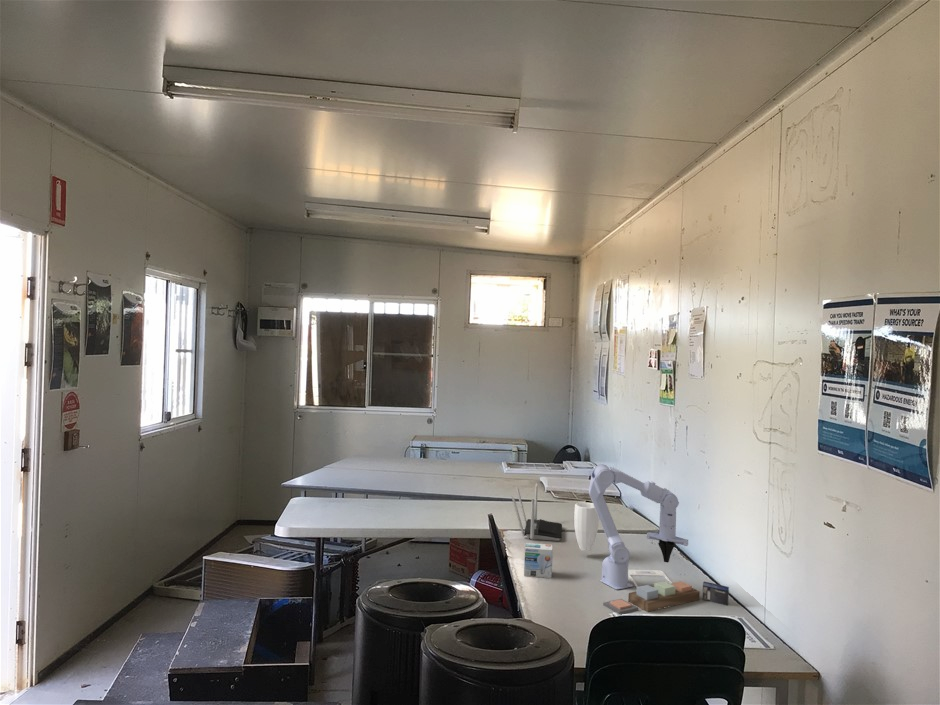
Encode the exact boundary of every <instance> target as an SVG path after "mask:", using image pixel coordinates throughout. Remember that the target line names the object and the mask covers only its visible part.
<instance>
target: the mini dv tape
mask: <svg viewBox="0 0 940 705" xmlns="http://www.w3.org/2000/svg"><path fill="white" fill-rule="evenodd" d="M729 588H730V587H729V586H726V585H721V584H717V583H713V582H710V581H703V582H702V596H701V597H702V600H703V601H706V602H711V603H715V604H719V605H723V606H728V605H729V595H730V594H729V592H730V589H729Z"/></svg>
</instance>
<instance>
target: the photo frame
mask: <svg viewBox="0 0 940 705" xmlns="http://www.w3.org/2000/svg"><path fill="white" fill-rule="evenodd" d="M633 576H634V577H656V576H664V578H665V579H666V580H667V582H668V581H669V582H668V583H669V584H670V583H673V581H672V580H670V578H669V577H668V576H667V575H666V573H665V572H664V571H663V570H657V569H656V570H655V569H654V570H653V569H628V579H630V581H631V582H632V583H633V586H635V587H636V589H637V587H640V586H638V584H637V582H636V581H635V579H634V578H633ZM652 587H653V588H654V586H652Z"/></svg>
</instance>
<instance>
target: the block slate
mask: <svg viewBox="0 0 940 705" xmlns="http://www.w3.org/2000/svg"><path fill="white" fill-rule="evenodd" d="M653 587H654V586H651V585H650V584H646V585H640V586H639V587H637V588H636V591H637V593H636V595H638V596H640V597H642V598H643V599H645V600H651V599H655V598H658V590H657V589H655V588H653Z"/></svg>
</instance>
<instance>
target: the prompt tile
mask: <svg viewBox="0 0 940 705" xmlns="http://www.w3.org/2000/svg"><path fill="white" fill-rule="evenodd" d="M602 605H603V606H604V607H606V608H608V609H609V610H611V611H612V612H615V613H616V612H618V613H617V614H618V615H623V614H626V613H630V612H635V611H638V610H639V607H637V606H635V605H633V604H631V603H630V602H628V601H626V600H625V599H623V598H618V599H614V600H608V601H604V602H603V603H602Z"/></svg>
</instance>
